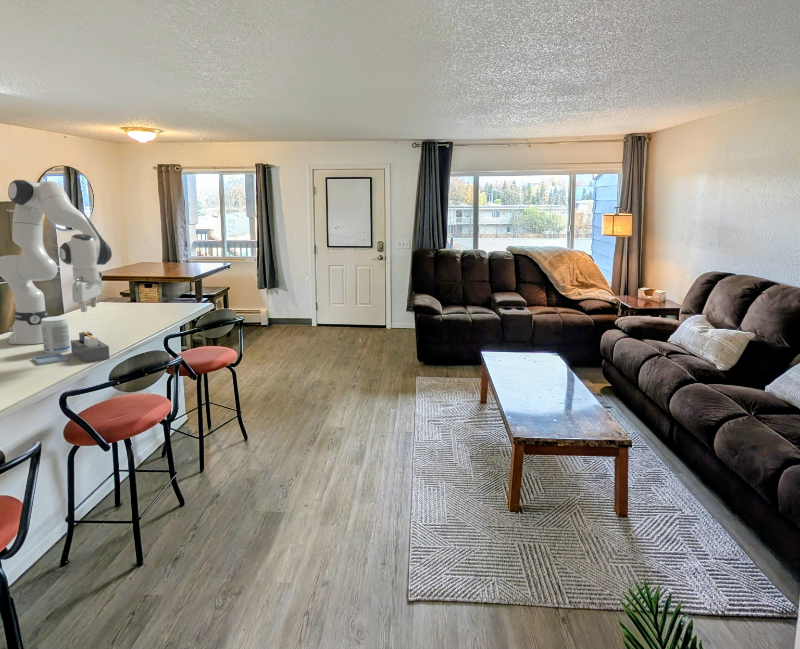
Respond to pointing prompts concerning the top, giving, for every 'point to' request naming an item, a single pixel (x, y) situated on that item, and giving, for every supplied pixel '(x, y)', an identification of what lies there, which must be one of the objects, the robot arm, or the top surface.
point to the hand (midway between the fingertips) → (88, 309)
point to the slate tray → (49, 359)
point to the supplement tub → (55, 334)
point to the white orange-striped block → (91, 341)
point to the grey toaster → (89, 349)
